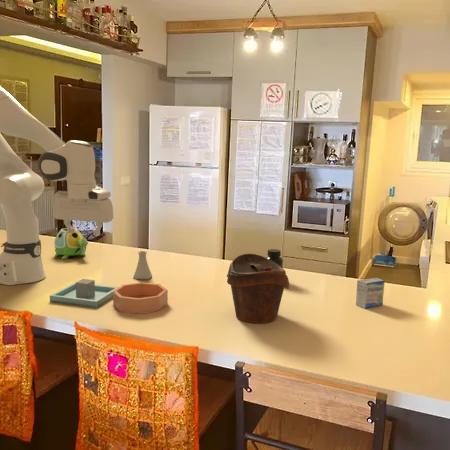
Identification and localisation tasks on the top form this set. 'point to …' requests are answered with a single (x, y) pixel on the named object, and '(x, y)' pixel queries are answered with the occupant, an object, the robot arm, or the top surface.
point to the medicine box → (370, 293)
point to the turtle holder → (70, 243)
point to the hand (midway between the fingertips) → (83, 234)
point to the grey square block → (85, 288)
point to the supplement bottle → (275, 256)
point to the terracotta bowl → (140, 297)
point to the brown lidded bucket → (256, 287)
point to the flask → (142, 267)
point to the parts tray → (95, 301)
